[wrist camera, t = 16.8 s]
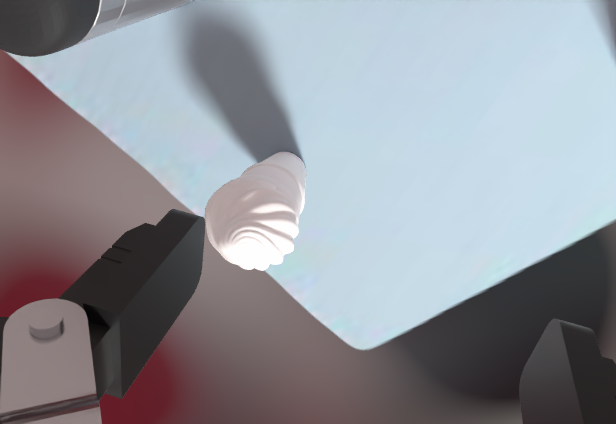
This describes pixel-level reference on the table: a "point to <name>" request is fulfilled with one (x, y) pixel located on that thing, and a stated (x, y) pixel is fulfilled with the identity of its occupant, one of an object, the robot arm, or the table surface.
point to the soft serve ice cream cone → (258, 212)
